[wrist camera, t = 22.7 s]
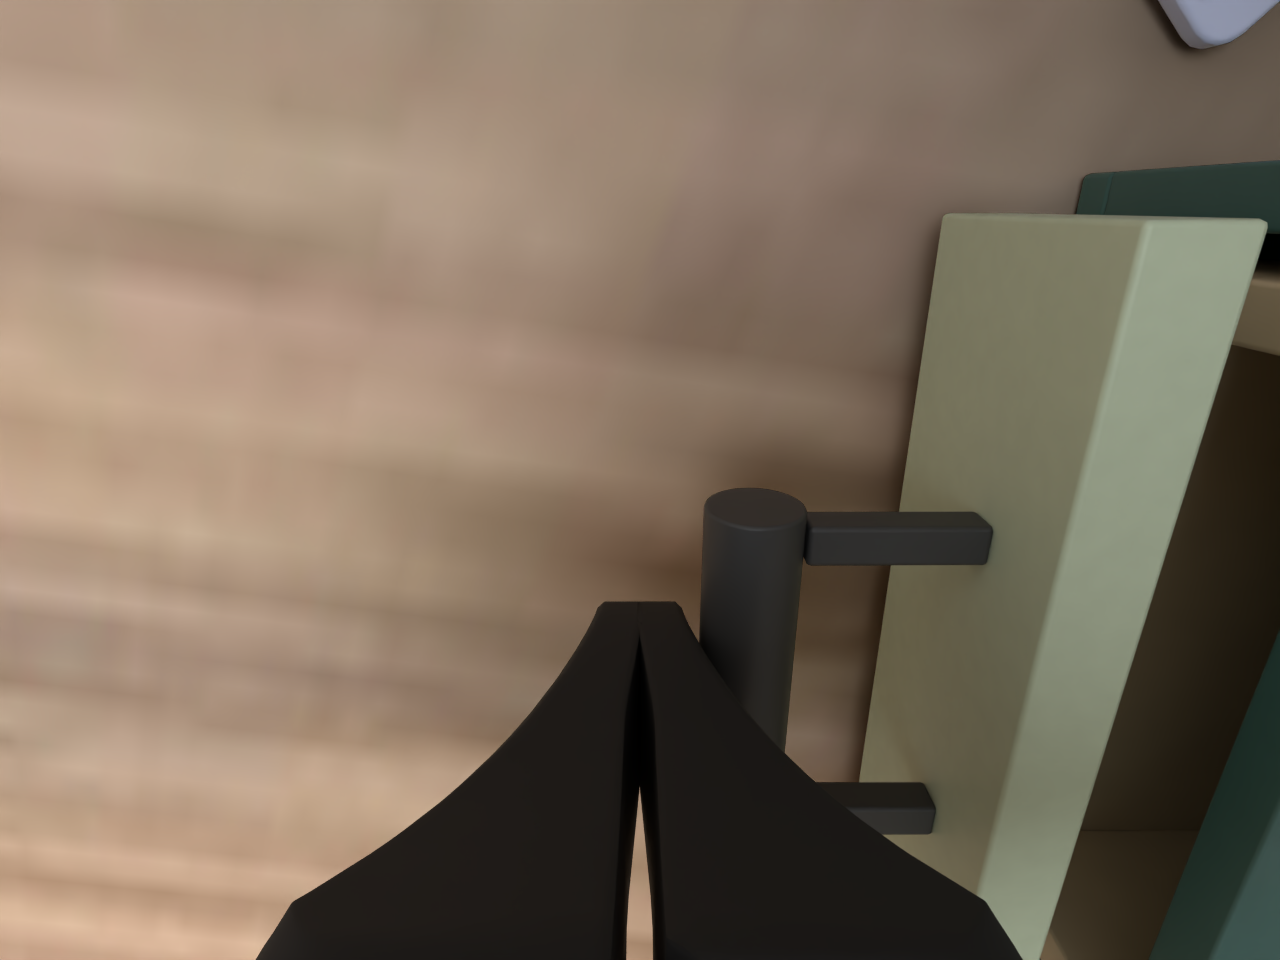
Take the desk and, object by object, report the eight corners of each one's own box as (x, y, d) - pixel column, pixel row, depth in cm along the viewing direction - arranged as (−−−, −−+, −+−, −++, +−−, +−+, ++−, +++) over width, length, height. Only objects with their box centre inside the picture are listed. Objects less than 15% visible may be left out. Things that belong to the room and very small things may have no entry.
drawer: (679, 838, 16) (695, 1085, 11) (694, 214, 11) (732, 220, 7) (1437, 837, 16) (1748, 1083, 11) (1794, 210, 11) (2587, 214, 6)
